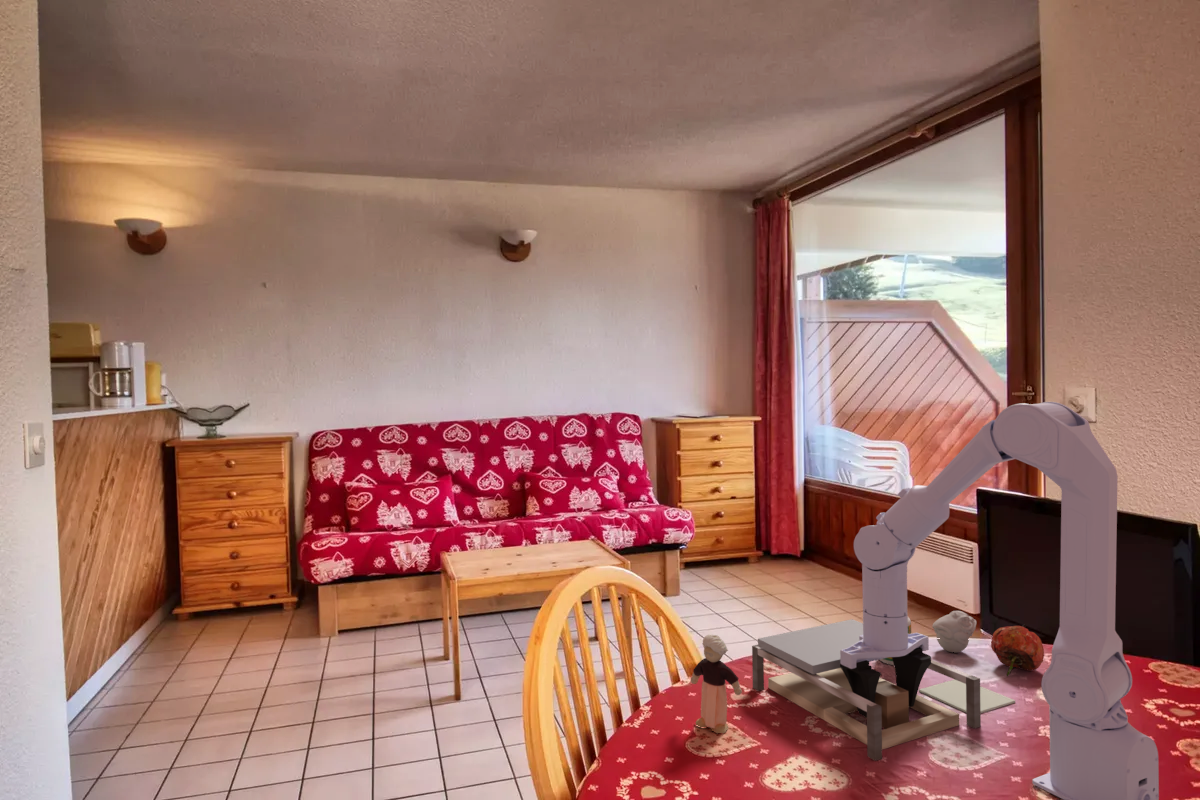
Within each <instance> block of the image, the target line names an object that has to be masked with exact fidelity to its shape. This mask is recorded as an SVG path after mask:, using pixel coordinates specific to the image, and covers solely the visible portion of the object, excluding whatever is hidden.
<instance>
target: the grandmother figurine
mask: <svg viewBox="0 0 1200 800" xmlns="http://www.w3.org/2000/svg"><path fill="white" fill-rule="evenodd" d="M702 646H703V655H704V657H705V658H703V659H701V660H700V661H699V662H698V663H697V664H696V666H695V667H694V668H693V672H692V676H691V678H690V682H691V684H692V685H697V684H698V682H699V679H700V677H701V676H702V678H703V679H702V682H701V703H700V718H698V719H697V720H696V721H695V723H696V725H698V726H700V727H707V726H708V728H710V729H712V730H711V732H712V731H714V732H716V734H718V733H723V734H725V733H726V732H727V731H726V730H728V729H729V725H728V723H727V717H728V716H727V713H728V697H727V688H726V684H727V683H728V684H729V685H730V686H731V688H732V689H733V692H734V694H735V695H737V696H740V695H742V694H743V690H742V688H741V687H740V682H739V677H738V676H737V674H736V673H735V672H734V671H733V670H732V668H730V667H729V666H727V664H725V663H724V661H722V660H721V659H722V658H723V656H724V655H725V654H726V653H727V652H728V651H729V649H728V648H727V644H726V643H725V642H724V640H722V638H721V637H720V636H719V635H718V634H717V635H716V634H707V635H705V636H704V637H703V639H702ZM726 682H727V683H726ZM727 728H728V729H727ZM714 732H713V733H714Z"/></svg>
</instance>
